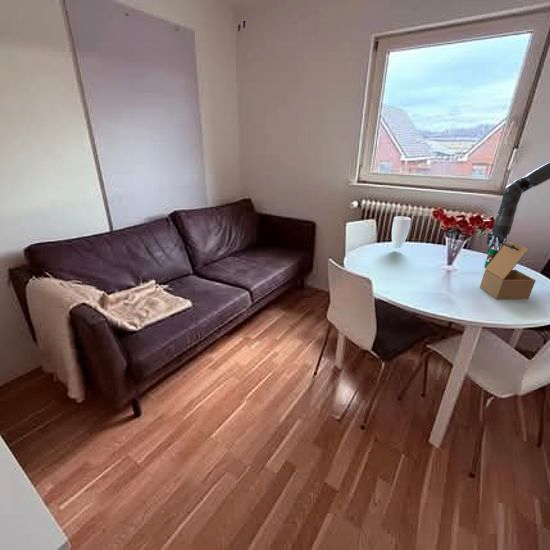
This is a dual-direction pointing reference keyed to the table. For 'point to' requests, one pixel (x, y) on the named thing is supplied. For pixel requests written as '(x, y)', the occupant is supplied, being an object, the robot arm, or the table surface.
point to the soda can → (490, 255)
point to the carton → (507, 285)
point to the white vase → (400, 230)
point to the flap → (506, 259)
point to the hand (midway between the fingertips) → (493, 255)
